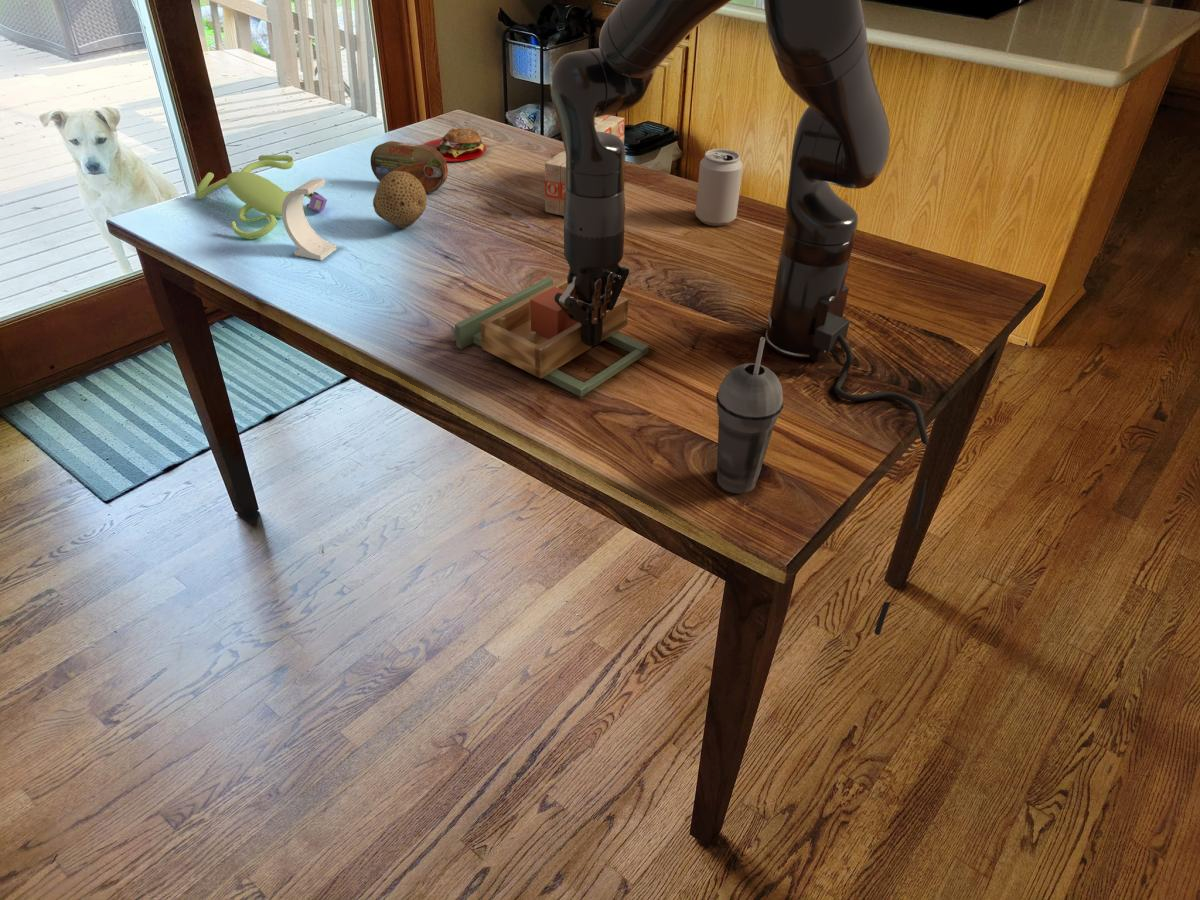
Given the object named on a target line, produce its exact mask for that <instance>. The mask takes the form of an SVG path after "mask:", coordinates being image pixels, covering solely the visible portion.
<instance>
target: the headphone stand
mask: <svg viewBox="0 0 1200 900" xmlns="http://www.w3.org/2000/svg"><path fill="white" fill-rule="evenodd" d="M325 185H326V181H325V178H313V179H311V180H308V181H307V182H305V183H304V184H302V185H300V186H299V187H297V188H295V189H294V190H291V191H292V192H290V193H289V194H288V195H287V196H286V197H285V199H284V201H283V204H282V216H281V220H282V223H283V227H284V229H285V231H286V233H287V235H288V237H289V238H290V240H291V241H292V242H293V243H294V245H295V246H296V247H297V248H295V249H294V255H295V256H297V257H302V258H307V259H312V260H317V261H322V260H324V259H325V258H327V257H328V256H329V255H331V254H332V253H334V252H335V251H336V250H338V249H337V244H336V243H333V242H330V241H327V240H326V239H324V238H322V237H321V236H320V235H319V234H318V233H317V232H316V231H315V230H314V229H313V227H312V225H310V223H309V221H308V220H307V217H306V215H305V211H304V197H305V196H304V195H305V194H310V193H313V192H316V191H317V190H318V189H320V188H321V187H323V186H325Z"/></svg>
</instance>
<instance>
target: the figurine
mask: <svg viewBox="0 0 1200 900" xmlns="http://www.w3.org/2000/svg"><path fill="white" fill-rule="evenodd" d="M293 166H294V158H293V156H291V155H287V154H261V155H258V161H254V162H251V163H249V164H247V165H246V166H244V167H243V168H242V169H241V170H240V171H232V172H231V173H229V174H227V176H226V177H225V178H222V179H220V180H217V181H216V182H214V183H211V182H212V180H213V179H214V177H215V174H214V173H213V172H207V173H206V175H205V176H204V177H203V178H202V179H201V181H200V182H199V184H198V185H197V188H196V190H195V194H194V197H195V199H196V200H201V199H205V198H207V196H208V195H210V194H212V193H214V192H216V191H217V190H219V189H221V188H223V187H225V186H228V188H229V191H230V192H231V193H233V195H234V196H235V197H236V198H237V199H238V200H240V201H241V202H242V203H244V205H243V206H242V207H241V208H240V209H239V212H238V214H237V217H238V220H239V221H241V222H243V223H249V222H255V221H258V220H263V219H264V220H265V219H266V220H267V221H269V222H267V224H266V225H264V226H263V227H262V228H260V229H257V230H253V231H249V232H247V231H243V230H242V229H239V227H238V226H237V224H236V222H235V221H234V220H233V221H232V222H231V228H232V230H233V233H234V234H236V235H237V236H239V238H240V237H241V238H242V239H245V240H254V239H255V240H256V239H258V238H262V237H264V236H266V235H269V233H270V232H271V231H272V230H273V229H274V228H275V227H276V226H277V223H278V219H277V218H276V217H282V204H283V201H284V199H285V197H286V196H287V195H288V194H289V193H290V192H292V191H293V190H289V191H288V190H287V191H284V190H283V189H282V188H281V187H279V186H278V185H277V184H275V183H274V182H272V181H271V180H269V179H268V178H266V177H263V176H261V175H259V174H256V173H252V171H253V170H257V169H261V168H264V167H265V168H266V167H268V168H269V167H270V168H276V169H280V170H290V169H292V167H293ZM210 183H211V184H210ZM304 197H307V198H308V199H309V200H310V201H309V203H307V204H306V207H307V208H309V209H311V210H314V211H315V212H318V213H321V212H323V211H324V210H325V208H326V204H327V201H328V199H327V198H325V197H324V196H323V195H322V194H319V193H318V192H316V191H313V192H312V193H310V194H305V195H304ZM252 209H253V210H255V211H257V212H259V213H262V214H263V215H261V216H257V217H252V218H247V217H246V215H247V213H248V212H250V211H251V210H252ZM264 214H265V215H264Z"/></svg>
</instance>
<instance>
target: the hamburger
mask: <svg viewBox="0 0 1200 900" xmlns="http://www.w3.org/2000/svg"><path fill="white" fill-rule="evenodd" d="M422 145H427V146H431V147H433V148H435V149H437V150H438V151H439V152H440V153H441V154H442V155H443V157H444V158H445V161H446V162H461V161H467V160H468V161H469V160H473V159H477V158H478V157H481V156H482V155H484V154H485V153H486V152H487V146H486V145H485V144H484V142H482V137H481V136H480V134H479V133H478V131H476V130H473V129H471V128H466V127H465V128H464V127H463V128H462V127H461V128H454V127H453V128H451V129H449V130H448V131H447V132H446V133H445V134H444V136H442V137H440V138H437V139H432V140H429V141H426V142H425V143H423V144H422Z"/></svg>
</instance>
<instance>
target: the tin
mask: <svg viewBox="0 0 1200 900" xmlns="http://www.w3.org/2000/svg"><path fill="white" fill-rule="evenodd" d="M369 161H370V169H371V171H372V173H373V175H374V177H375V178H376V179H377V180H378V181H379V182H380V181H381V180H382V179H383V177H384V176H386V175H387V174H388V173H390V172H393V171H403V172H408V173H410V174H412V175H413V176H415V177H416V178H417V179H418V180H419V181H420V182H421V184H422V186H423V187H424V189H425V192H426V194H429V193H430V194H431V193H433V192H436V191H438V189H440V188H441V187H442V186H443V185H444V184H445V182H446V181H447V178H448V175H449V173H448V172H449V171H448V170H449V169H448V164H447V161H445V158H444V157H443V155H442V154H441V153H440V152H439V151H438V150H437V149H435V148H433V147H431V146H427V145H423V144H419V143H410V142H402V141H394V140H390V141H385V142H383V143H380V144H378V145H376V146H375V147H374V148H373V150H372V151H371V154H370V160H369Z"/></svg>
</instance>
